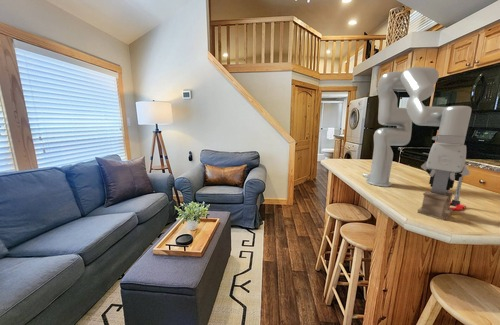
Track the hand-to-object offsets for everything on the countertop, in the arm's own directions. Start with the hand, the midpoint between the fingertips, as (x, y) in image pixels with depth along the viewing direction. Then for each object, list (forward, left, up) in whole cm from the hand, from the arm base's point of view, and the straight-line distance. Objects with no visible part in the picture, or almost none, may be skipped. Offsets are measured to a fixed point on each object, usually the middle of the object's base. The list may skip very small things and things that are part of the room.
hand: (440, 187), depth 81 cm
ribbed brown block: (0, 0, -10) cm, 10 cm away
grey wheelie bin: (0, 0, -2) cm, 2 cm away
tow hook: (+2, +13, -11) cm, 17 cm away
